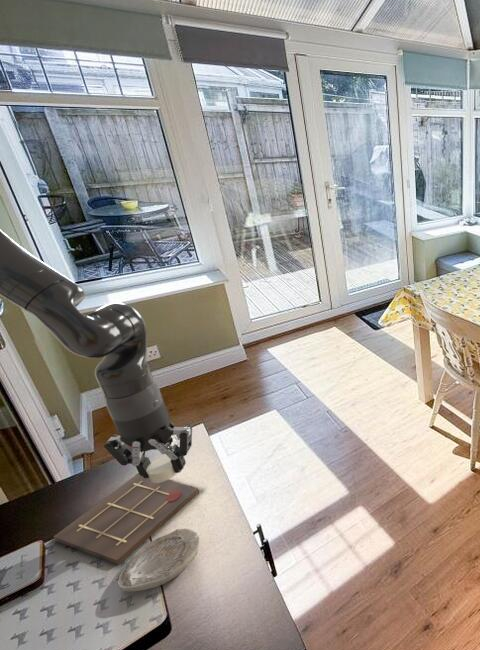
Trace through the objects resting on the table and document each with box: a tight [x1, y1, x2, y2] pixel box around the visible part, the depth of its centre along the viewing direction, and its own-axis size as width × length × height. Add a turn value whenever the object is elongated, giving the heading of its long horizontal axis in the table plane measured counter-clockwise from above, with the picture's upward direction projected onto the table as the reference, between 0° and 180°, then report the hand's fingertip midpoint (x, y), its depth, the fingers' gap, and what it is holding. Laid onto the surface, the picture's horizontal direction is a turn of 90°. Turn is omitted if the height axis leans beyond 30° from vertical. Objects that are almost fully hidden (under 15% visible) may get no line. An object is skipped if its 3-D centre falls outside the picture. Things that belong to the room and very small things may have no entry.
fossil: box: [117, 528, 200, 592], centre depth 74 cm, size 10×12×3 cm
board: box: [53, 472, 200, 565], centre depth 83 cm, size 16×16×1 cm
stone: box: [146, 455, 178, 483], centre depth 84 cm, size 5×5×2 cm
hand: (164, 471), depth 84 cm, fingers closed on stone, 4 cm apart
